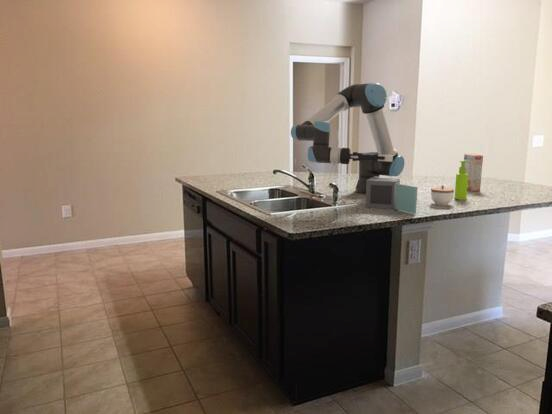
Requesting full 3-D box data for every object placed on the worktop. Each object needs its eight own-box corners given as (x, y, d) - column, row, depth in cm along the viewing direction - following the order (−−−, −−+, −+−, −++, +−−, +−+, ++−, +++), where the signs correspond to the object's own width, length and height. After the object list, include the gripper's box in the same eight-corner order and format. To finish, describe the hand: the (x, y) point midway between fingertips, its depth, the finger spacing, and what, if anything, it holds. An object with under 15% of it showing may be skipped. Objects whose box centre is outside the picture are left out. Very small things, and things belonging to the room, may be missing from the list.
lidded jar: (429, 205, 231) (430, 186, 229) (431, 201, 241) (432, 183, 239) (452, 207, 227) (454, 187, 225) (453, 203, 237) (454, 184, 235)
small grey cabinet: (370, 202, 238) (371, 175, 236) (404, 205, 232) (405, 177, 229) (365, 207, 227) (366, 178, 225) (400, 209, 221) (402, 180, 218)
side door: (414, 213, 209) (415, 187, 207) (392, 208, 222) (393, 183, 219) (417, 213, 210) (418, 186, 208) (395, 208, 222) (396, 183, 220)
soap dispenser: (469, 199, 246) (472, 161, 242) (455, 199, 248) (458, 161, 244) (467, 197, 252) (470, 160, 248) (453, 197, 253) (456, 160, 249)
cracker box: (480, 191, 273) (483, 155, 269) (470, 191, 274) (473, 155, 270) (471, 187, 287) (473, 153, 283) (461, 187, 287) (463, 153, 283)
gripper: (342, 163, 226) (393, 166, 219) (337, 164, 213) (390, 167, 206) (343, 147, 225) (394, 149, 217) (338, 147, 212) (391, 150, 205)
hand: (392, 158), depth 212 cm, fingers closed
